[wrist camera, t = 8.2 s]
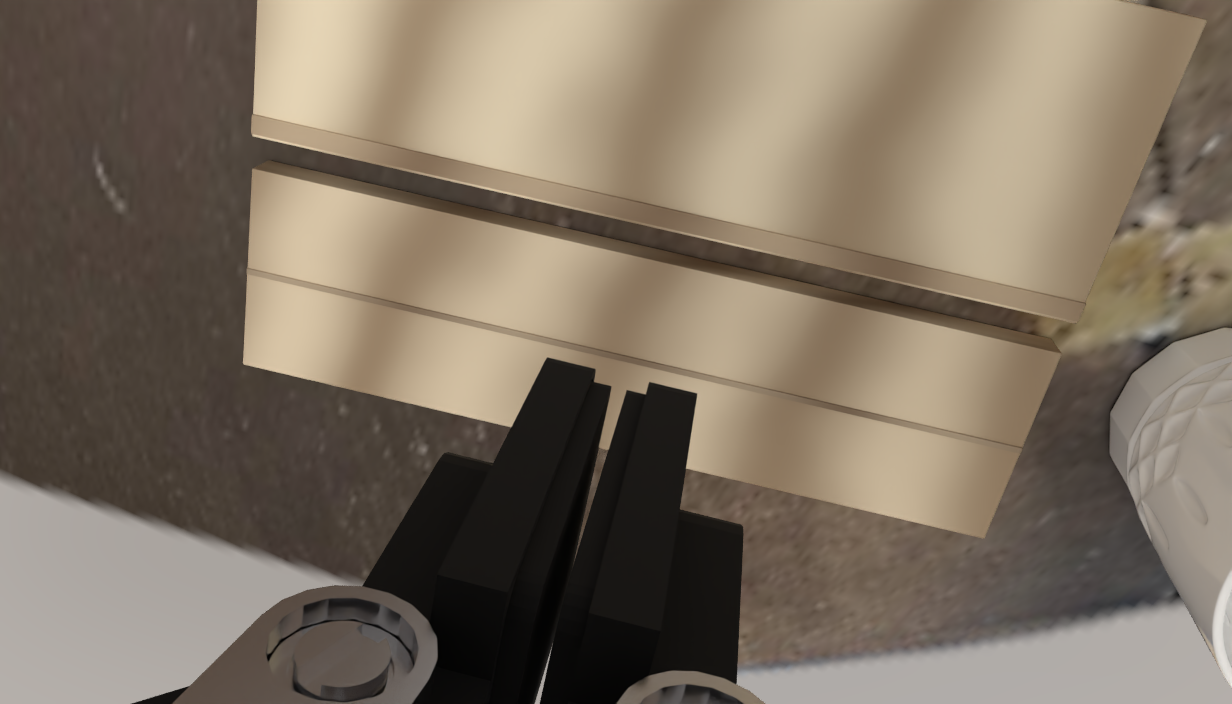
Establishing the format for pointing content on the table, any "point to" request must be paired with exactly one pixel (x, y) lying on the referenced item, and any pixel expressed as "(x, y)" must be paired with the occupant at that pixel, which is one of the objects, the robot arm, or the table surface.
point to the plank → (762, 120)
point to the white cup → (1185, 473)
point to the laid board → (640, 344)
